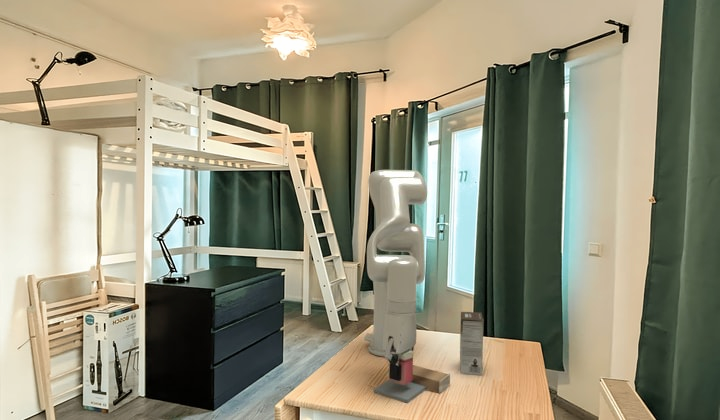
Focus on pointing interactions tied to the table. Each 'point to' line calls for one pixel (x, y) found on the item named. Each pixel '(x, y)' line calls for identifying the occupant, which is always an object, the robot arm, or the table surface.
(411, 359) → the small box
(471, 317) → the coffee box
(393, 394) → the slate pad
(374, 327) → the robot arm
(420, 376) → the bronze rectangular slab
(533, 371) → the table surface
